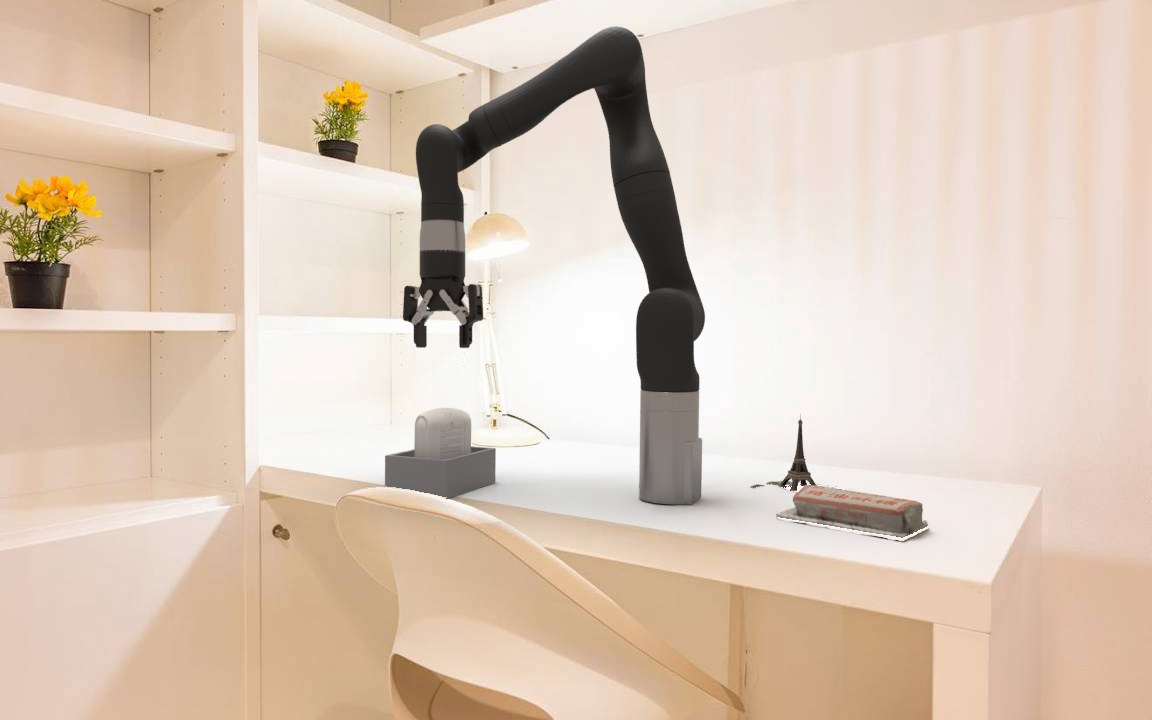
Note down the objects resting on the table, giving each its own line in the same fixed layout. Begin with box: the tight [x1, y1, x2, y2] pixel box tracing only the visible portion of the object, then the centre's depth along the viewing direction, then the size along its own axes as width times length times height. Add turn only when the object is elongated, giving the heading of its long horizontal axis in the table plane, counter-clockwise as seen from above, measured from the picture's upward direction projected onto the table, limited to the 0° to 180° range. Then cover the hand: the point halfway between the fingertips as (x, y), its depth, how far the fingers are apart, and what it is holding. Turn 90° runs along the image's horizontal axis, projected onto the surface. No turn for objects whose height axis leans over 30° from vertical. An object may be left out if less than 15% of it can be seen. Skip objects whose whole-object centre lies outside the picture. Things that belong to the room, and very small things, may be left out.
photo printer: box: [414, 407, 472, 460], centre depth 135 cm, size 10×4×12 cm, turn 138°
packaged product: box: [775, 485, 929, 538], centre depth 112 cm, size 18×5×10 cm
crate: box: [384, 445, 497, 499], centre depth 135 cm, size 12×16×6 cm
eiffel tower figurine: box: [750, 413, 818, 492], centre depth 138 cm, size 15×10×13 cm
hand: (442, 347), depth 134 cm, fingers open, 8 cm apart
